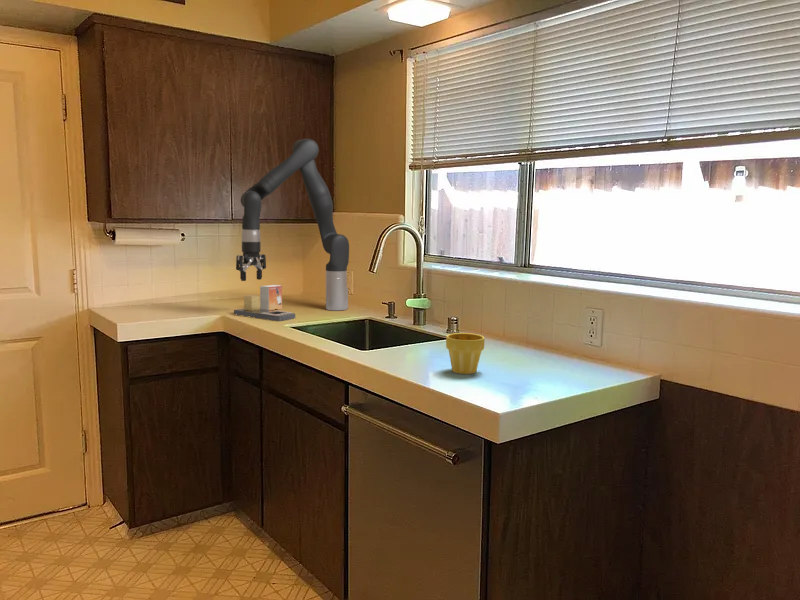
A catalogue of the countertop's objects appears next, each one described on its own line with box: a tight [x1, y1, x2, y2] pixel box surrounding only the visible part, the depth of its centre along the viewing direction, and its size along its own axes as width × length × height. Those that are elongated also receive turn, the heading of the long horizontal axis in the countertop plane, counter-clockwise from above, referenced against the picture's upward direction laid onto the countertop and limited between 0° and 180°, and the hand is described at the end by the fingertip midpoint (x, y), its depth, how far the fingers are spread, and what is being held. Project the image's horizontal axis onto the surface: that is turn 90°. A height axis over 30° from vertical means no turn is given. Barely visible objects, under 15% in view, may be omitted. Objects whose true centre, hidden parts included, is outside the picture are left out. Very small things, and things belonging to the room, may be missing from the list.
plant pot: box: [445, 332, 485, 375], centre depth 176 cm, size 10×10×10 cm
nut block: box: [243, 294, 260, 312], centre depth 267 cm, size 4×4×8 cm
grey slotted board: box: [233, 308, 296, 322], centre depth 264 cm, size 9×26×2 cm, turn 56°
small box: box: [259, 284, 283, 311], centre depth 283 cm, size 8×6×10 cm
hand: (251, 280), depth 266 cm, fingers open, 8 cm apart
